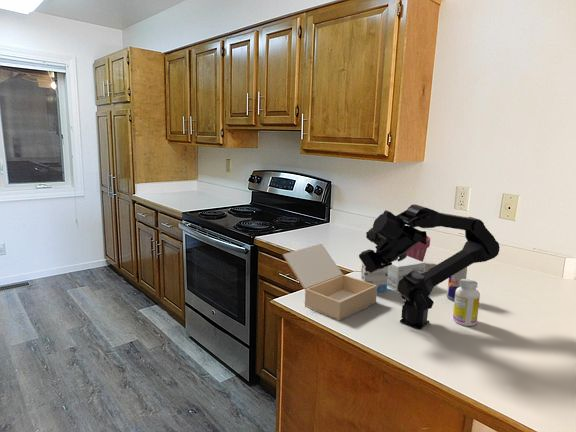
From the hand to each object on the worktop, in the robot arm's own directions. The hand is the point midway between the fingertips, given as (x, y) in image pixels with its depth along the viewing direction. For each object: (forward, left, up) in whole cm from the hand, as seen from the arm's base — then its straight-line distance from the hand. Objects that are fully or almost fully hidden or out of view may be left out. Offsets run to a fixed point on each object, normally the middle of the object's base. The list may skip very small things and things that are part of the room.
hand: (366, 269), depth 121 cm
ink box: (+8, -17, -14) cm, 23 cm away
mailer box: (+8, +2, -14) cm, 16 cm away
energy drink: (-16, -31, -14) cm, 38 cm away
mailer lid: (+20, +2, -3) cm, 20 cm away
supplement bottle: (-25, -16, -14) cm, 33 cm away
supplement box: (+7, -31, -14) cm, 35 cm away
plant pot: (+13, -54, -14) cm, 57 cm away
